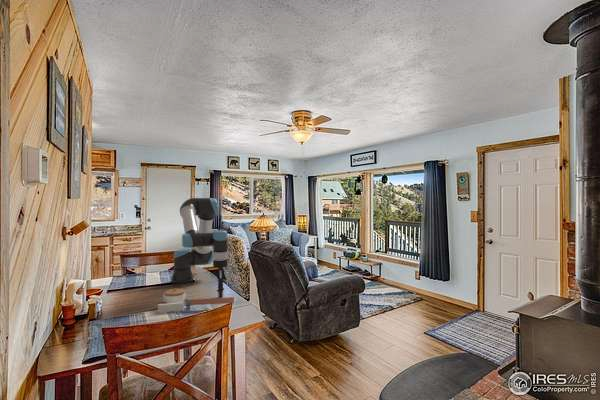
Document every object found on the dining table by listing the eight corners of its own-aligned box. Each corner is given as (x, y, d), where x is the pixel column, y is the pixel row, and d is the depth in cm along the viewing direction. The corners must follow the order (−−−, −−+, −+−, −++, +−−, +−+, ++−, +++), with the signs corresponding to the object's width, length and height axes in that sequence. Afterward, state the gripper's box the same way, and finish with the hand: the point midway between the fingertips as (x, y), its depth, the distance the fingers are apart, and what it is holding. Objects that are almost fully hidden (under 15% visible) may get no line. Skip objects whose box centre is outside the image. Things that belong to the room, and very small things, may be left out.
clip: (234, 301, 165) (234, 296, 165) (233, 303, 162) (233, 298, 162) (185, 304, 161) (185, 298, 161) (184, 305, 158) (184, 300, 158)
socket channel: (163, 301, 173) (163, 294, 173) (192, 298, 178) (192, 291, 178) (157, 313, 154) (157, 305, 154) (190, 310, 159) (190, 302, 159)
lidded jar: (162, 309, 160) (162, 291, 160) (165, 303, 170) (165, 286, 170) (184, 307, 163) (184, 290, 163) (186, 301, 173) (186, 284, 173)
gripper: (213, 257, 169) (213, 299, 169) (213, 262, 156) (213, 307, 157) (227, 256, 171) (227, 298, 171) (227, 261, 158) (228, 306, 159)
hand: (220, 302), depth 164 cm, fingers closed
